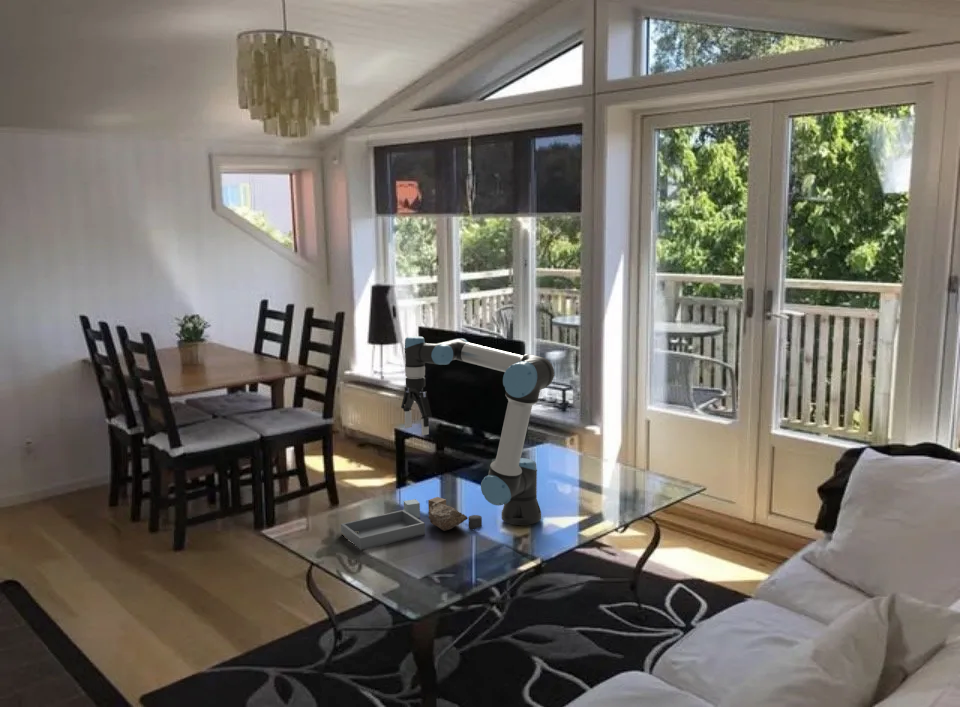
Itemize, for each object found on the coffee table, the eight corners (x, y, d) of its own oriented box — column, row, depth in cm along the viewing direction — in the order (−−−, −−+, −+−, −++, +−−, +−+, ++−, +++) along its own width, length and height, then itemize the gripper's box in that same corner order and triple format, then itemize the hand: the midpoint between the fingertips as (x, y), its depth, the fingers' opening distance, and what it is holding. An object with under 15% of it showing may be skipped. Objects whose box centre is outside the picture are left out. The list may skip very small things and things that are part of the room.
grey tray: (425, 534, 297) (424, 523, 296) (360, 550, 283) (360, 538, 282) (403, 520, 311) (403, 509, 310) (341, 535, 297) (340, 523, 297)
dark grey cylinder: (484, 528, 303) (484, 517, 302) (473, 530, 300) (473, 520, 300) (477, 524, 307) (476, 514, 307) (466, 526, 304) (465, 516, 304)
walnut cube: (446, 511, 321) (446, 499, 320) (437, 514, 318) (437, 502, 317) (437, 508, 325) (437, 496, 324) (428, 512, 321) (428, 500, 320)
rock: (472, 522, 301) (461, 502, 297) (455, 541, 295) (443, 521, 291) (442, 515, 314) (431, 495, 310) (425, 532, 308) (413, 513, 304)
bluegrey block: (420, 517, 315) (419, 503, 314) (407, 519, 313) (407, 504, 312) (416, 513, 319) (415, 499, 318) (404, 515, 317) (403, 500, 316)
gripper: (440, 380, 298) (441, 436, 302) (408, 371, 319) (410, 423, 322) (422, 383, 294) (423, 439, 298) (391, 373, 315) (393, 425, 318)
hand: (416, 431), depth 310 cm, fingers open, 13 cm apart
